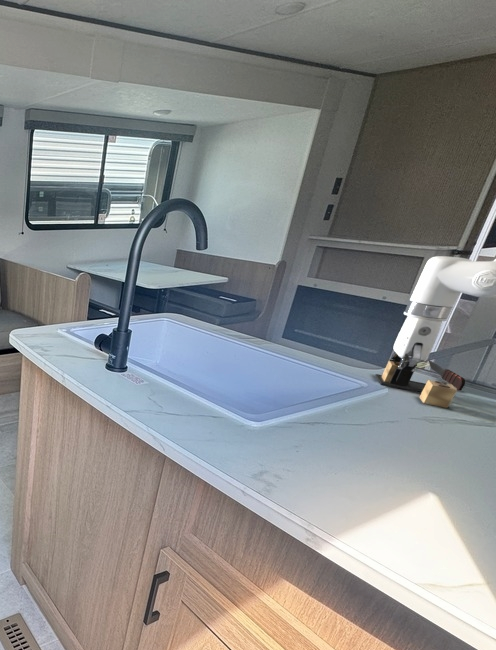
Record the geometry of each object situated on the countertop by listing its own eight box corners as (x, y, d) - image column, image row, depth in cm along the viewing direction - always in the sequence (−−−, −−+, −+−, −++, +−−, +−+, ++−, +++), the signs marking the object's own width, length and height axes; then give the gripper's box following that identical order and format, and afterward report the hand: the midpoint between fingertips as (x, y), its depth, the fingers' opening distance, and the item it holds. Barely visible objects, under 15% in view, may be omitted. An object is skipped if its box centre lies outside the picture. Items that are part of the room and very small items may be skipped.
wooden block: (401, 380, 109) (409, 363, 107) (405, 385, 105) (413, 368, 104) (381, 376, 111) (389, 359, 109) (384, 381, 107) (392, 364, 106)
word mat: (431, 386, 107) (432, 384, 107) (440, 396, 101) (441, 395, 101) (375, 375, 113) (376, 373, 112) (380, 384, 106) (381, 383, 106)
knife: (421, 368, 120) (426, 358, 119) (426, 368, 119) (431, 358, 118) (457, 390, 105) (463, 379, 104) (462, 391, 105) (468, 380, 104)
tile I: (442, 402, 98) (452, 383, 96) (447, 408, 95) (457, 389, 93) (419, 397, 100) (428, 378, 98) (423, 403, 97) (433, 384, 95)
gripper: (461, 321, 92) (423, 395, 99) (438, 307, 105) (406, 373, 113) (414, 315, 96) (381, 387, 103) (398, 302, 109) (370, 366, 116)
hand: (394, 379), depth 108 cm, fingers open, 7 cm apart
